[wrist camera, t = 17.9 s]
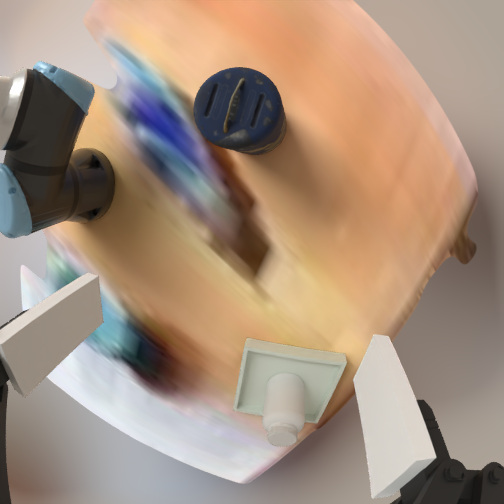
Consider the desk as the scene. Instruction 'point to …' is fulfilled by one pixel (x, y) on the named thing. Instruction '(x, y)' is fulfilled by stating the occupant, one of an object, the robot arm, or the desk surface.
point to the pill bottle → (284, 409)
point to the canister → (240, 111)
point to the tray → (287, 361)
